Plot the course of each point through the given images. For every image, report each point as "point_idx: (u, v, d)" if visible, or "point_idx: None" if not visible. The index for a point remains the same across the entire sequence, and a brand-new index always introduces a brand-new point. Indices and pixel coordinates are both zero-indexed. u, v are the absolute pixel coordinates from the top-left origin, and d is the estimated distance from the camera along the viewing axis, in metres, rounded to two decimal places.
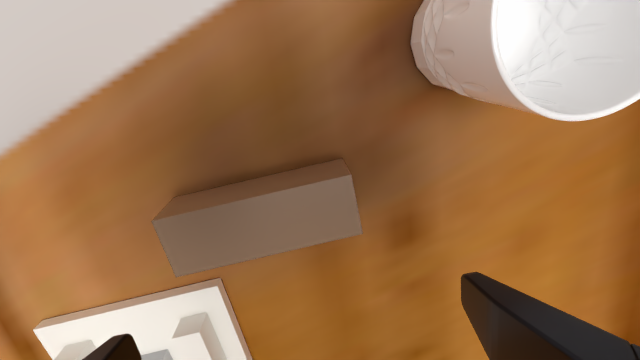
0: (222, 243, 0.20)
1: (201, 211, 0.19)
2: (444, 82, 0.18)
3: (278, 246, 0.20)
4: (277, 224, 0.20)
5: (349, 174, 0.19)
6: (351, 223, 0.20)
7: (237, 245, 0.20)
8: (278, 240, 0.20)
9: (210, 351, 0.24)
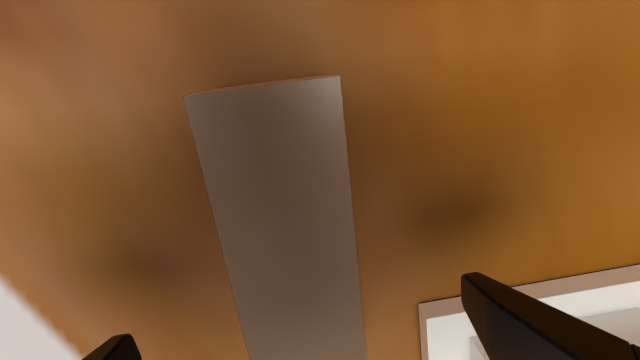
0: (320, 342, 0.11)
1: None
2: None
3: (342, 256, 0.10)
4: (293, 255, 0.10)
5: (185, 99, 0.08)
6: (308, 102, 0.08)
7: (327, 321, 0.11)
8: (328, 255, 0.10)
9: None
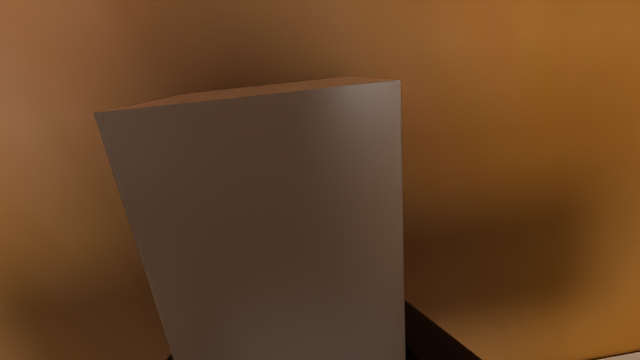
0: None
1: None
2: None
3: None
4: None
5: (100, 118, 0.04)
6: (338, 129, 0.04)
7: None
8: None
9: None
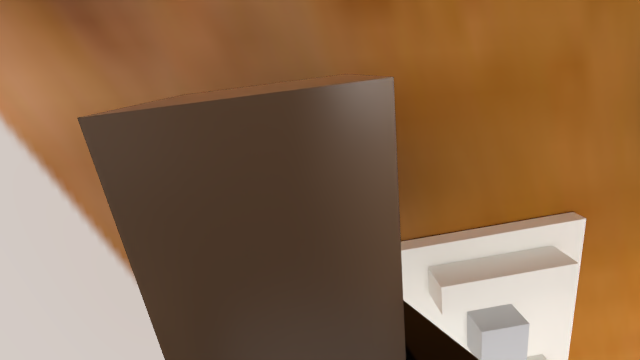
0: None
1: None
2: None
3: None
4: None
5: (85, 123, 0.04)
6: (330, 129, 0.04)
7: None
8: None
9: (475, 276, 0.19)
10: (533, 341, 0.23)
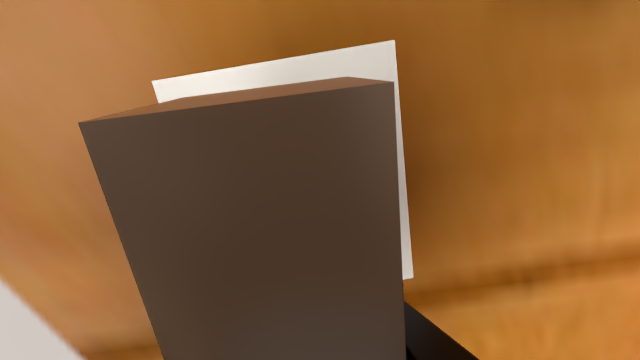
0: None
1: None
2: None
3: None
4: None
5: (86, 128, 0.04)
6: (331, 134, 0.04)
7: None
8: None
9: None
10: None
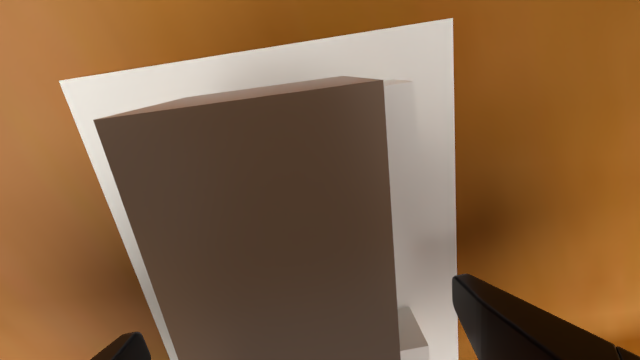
0: None
1: None
2: None
3: None
4: None
5: (100, 125, 0.05)
6: (325, 128, 0.05)
7: None
8: None
9: None
10: None
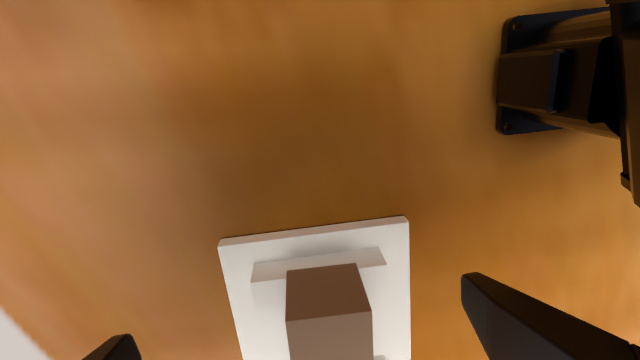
0: None
1: None
2: None
3: None
4: None
5: (285, 321, 0.15)
6: (353, 323, 0.15)
7: None
8: None
9: None
10: (373, 342, 0.23)
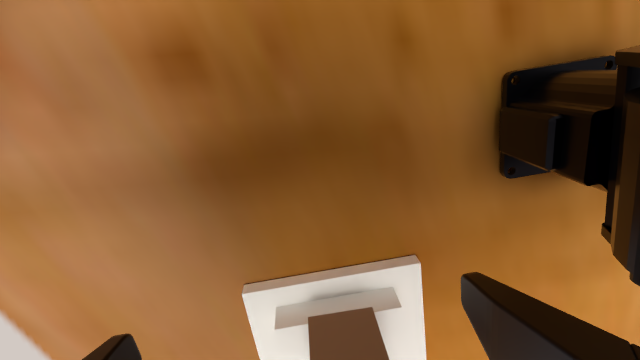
0: None
1: None
2: None
3: None
4: None
5: None
6: None
7: None
8: None
9: None
10: None
